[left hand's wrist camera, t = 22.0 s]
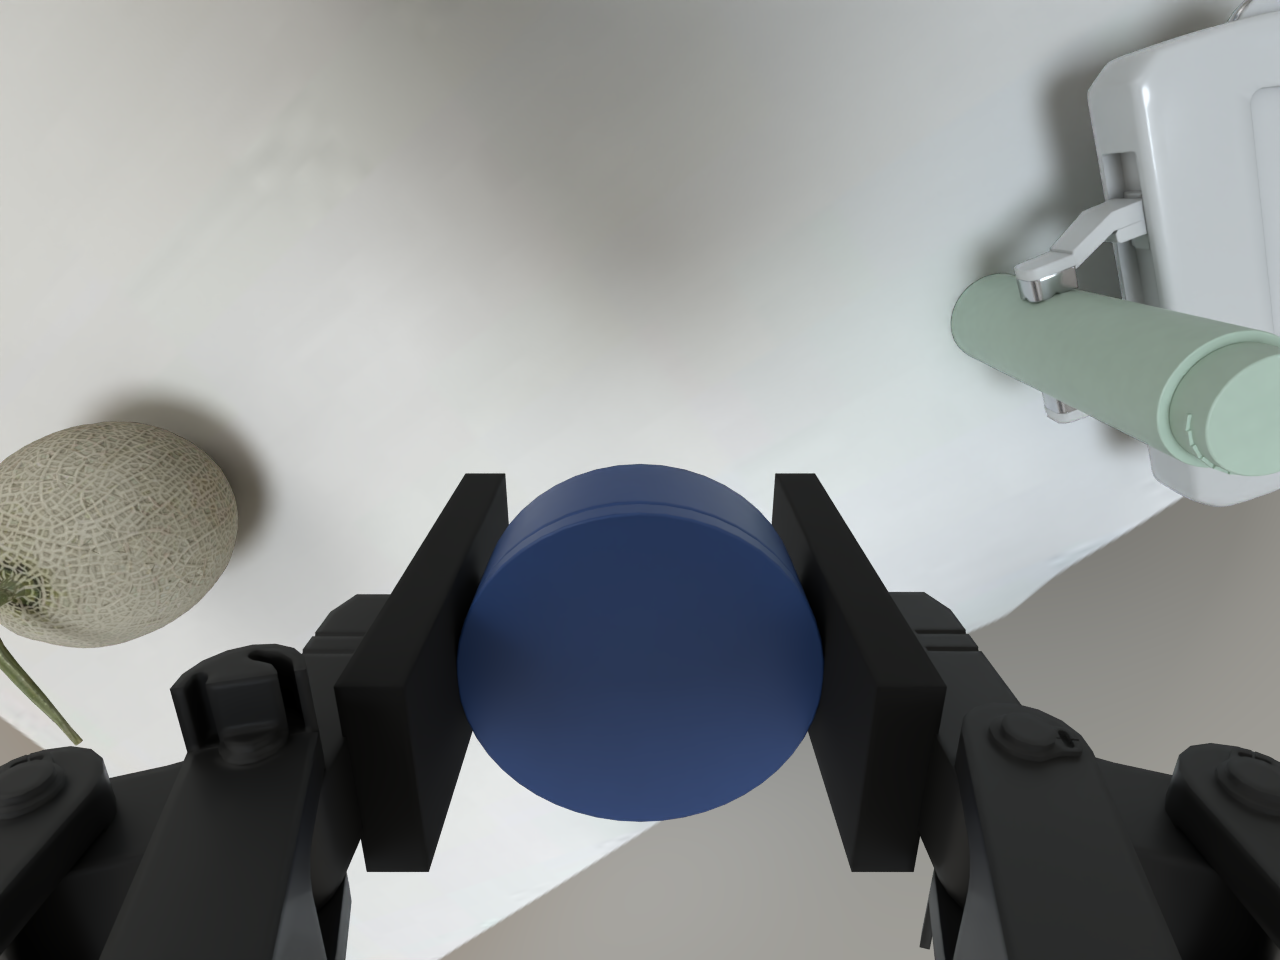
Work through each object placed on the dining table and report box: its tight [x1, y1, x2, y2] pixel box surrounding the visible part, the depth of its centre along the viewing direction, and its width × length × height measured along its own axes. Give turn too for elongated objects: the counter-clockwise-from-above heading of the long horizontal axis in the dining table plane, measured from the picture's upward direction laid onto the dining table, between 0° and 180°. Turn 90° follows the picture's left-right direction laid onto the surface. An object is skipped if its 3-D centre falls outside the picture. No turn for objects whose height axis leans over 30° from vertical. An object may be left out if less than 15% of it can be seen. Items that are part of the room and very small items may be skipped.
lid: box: [456, 464, 824, 822], centre depth 11 cm, size 5×5×2 cm
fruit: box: [0, 421, 238, 745], centre depth 35 cm, size 10×12×15 cm
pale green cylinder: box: [951, 274, 1280, 476], centre depth 30 cm, size 4×4×18 cm
